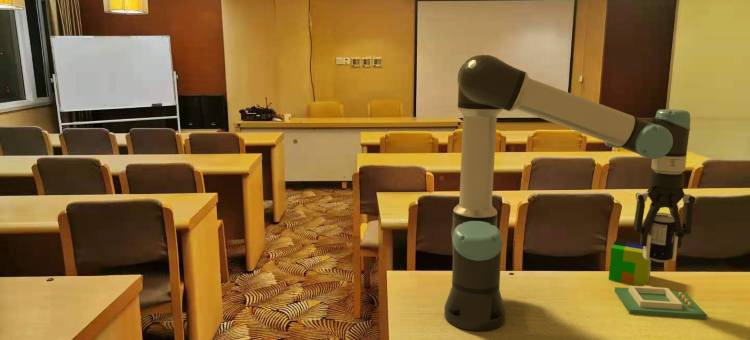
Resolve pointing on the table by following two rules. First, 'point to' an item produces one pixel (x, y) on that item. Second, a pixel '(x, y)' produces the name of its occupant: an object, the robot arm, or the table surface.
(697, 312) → the header board
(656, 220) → the beverage can
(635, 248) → the puzzle toy
